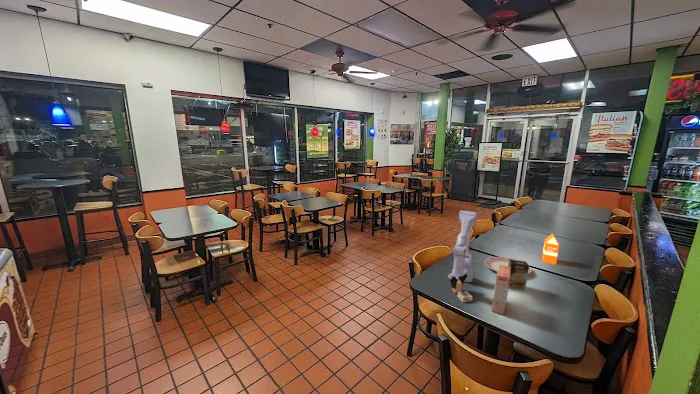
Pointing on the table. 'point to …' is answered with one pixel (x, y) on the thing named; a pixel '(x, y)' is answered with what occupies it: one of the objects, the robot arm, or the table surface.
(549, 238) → the orange juice
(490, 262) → the dinner plate
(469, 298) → the beech base
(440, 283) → the table surface
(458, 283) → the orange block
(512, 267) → the coffee box
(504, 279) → the cracker box
